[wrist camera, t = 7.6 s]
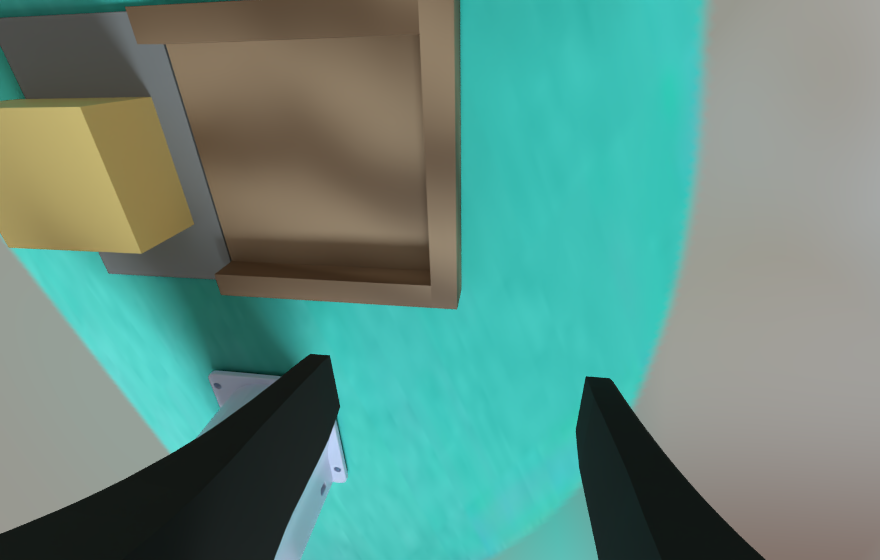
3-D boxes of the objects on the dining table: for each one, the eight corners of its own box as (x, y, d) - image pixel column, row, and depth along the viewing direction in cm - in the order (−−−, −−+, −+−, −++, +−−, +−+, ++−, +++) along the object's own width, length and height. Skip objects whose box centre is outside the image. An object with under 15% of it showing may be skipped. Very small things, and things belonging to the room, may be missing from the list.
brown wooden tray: (461, 290, 21) (457, 309, 20) (240, 278, 23) (221, 294, 21) (460, -5, 15) (453, -11, 13) (160, 10, 17) (124, 6, 15)
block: (194, 224, 21) (141, 253, 18) (77, 220, 22) (8, 247, 19) (151, 96, 18) (79, 107, 15) (18, 98, 19) (-73, 108, 16)
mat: (239, 277, 23) (236, 280, 23) (113, 271, 24) (108, 273, 24) (158, 10, 17) (153, 10, 17) (-5, 19, 18) (-13, 18, 18)
